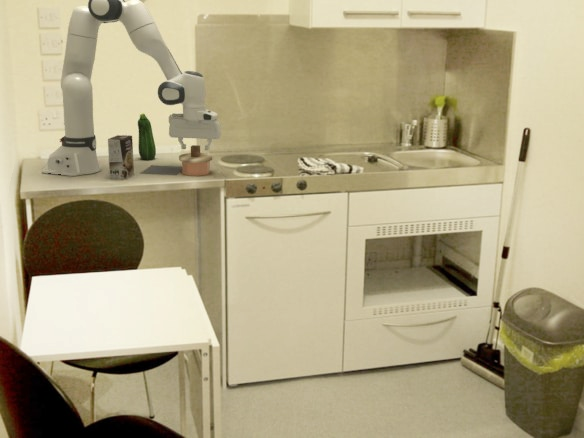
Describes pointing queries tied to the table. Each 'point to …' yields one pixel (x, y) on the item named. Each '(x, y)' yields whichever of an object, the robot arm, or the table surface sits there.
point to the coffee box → (121, 157)
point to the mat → (162, 170)
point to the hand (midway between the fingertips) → (195, 149)
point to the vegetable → (146, 139)
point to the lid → (195, 156)
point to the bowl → (196, 168)
